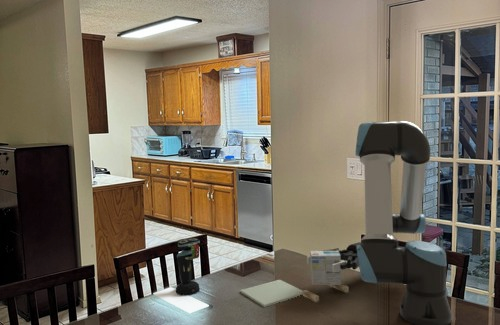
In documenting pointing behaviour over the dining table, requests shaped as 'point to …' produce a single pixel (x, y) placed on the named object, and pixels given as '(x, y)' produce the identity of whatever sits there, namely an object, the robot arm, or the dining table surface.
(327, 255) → the light bulb box
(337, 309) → the dining table surface
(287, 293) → the mat
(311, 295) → the beige rectangular blocks
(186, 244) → the cordless drill
